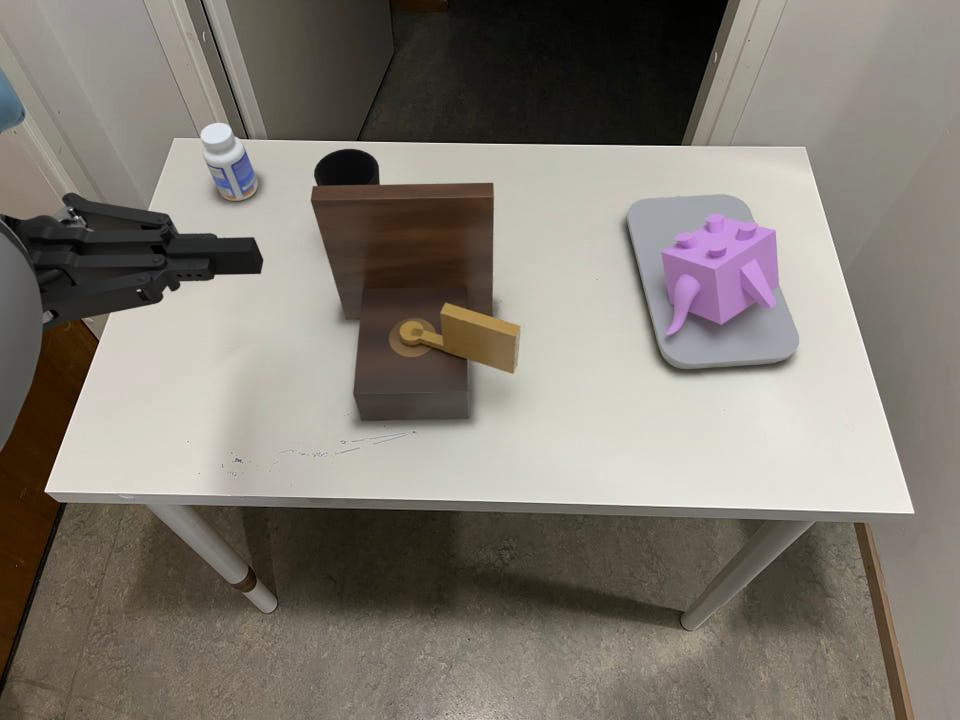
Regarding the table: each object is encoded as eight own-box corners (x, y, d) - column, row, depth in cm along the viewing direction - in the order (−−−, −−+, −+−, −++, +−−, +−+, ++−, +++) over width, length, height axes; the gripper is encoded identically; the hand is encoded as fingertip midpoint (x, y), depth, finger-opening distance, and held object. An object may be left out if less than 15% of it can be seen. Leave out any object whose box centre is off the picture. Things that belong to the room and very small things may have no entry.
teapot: (830, 208, 72) (830, 286, 77) (731, 188, 82) (738, 258, 88) (707, 288, 67) (717, 366, 72) (618, 256, 77) (633, 326, 82)
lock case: (495, 418, 76) (498, 312, 59) (335, 421, 76) (291, 316, 59) (492, 303, 85) (493, 182, 68) (347, 306, 85) (312, 185, 68)
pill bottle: (255, 171, 98) (234, 114, 90) (261, 197, 95) (240, 140, 87) (217, 180, 97) (192, 123, 89) (222, 206, 94) (196, 150, 86)
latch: (519, 359, 73) (522, 320, 67) (511, 379, 72) (513, 341, 66) (406, 323, 76) (399, 282, 70) (396, 341, 74) (388, 301, 68)
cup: (333, 220, 93) (314, 150, 82) (389, 216, 93) (377, 145, 83) (332, 264, 88) (313, 196, 78) (391, 259, 89) (379, 190, 79)
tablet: (738, 205, 93) (743, 192, 91) (799, 366, 79) (807, 356, 77) (620, 212, 93) (623, 199, 91) (661, 375, 79) (665, 365, 77)
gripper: (-112, 298, 48) (227, 291, 47) (-39, 168, 55) (256, 162, 55) (-41, 356, 54) (258, 350, 54) (16, 233, 61) (281, 228, 61)
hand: (257, 255), depth 54 cm, fingers closed
